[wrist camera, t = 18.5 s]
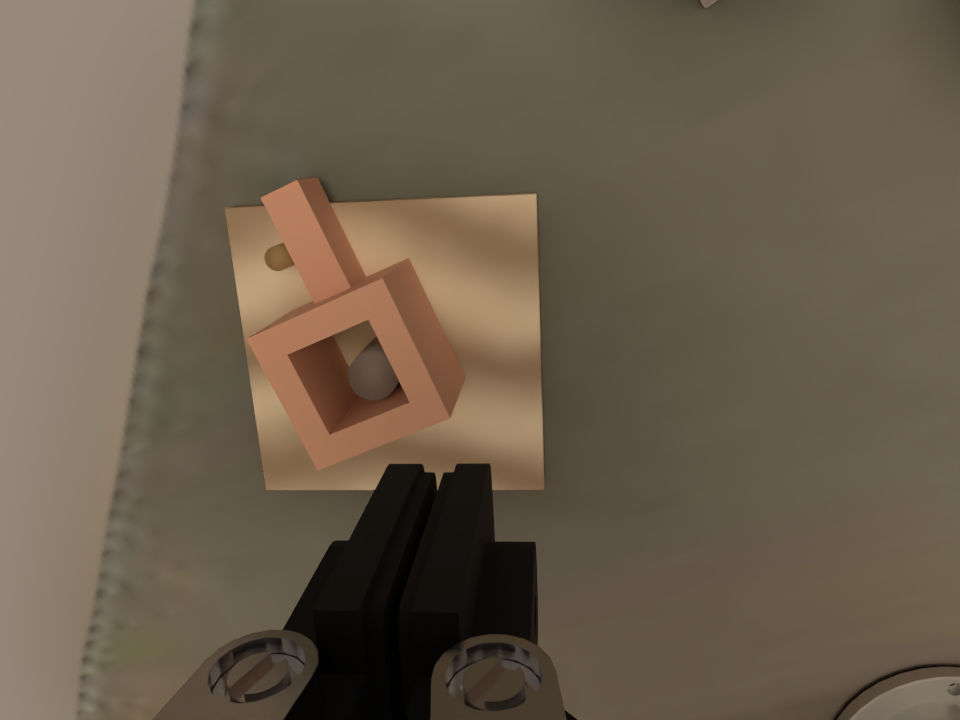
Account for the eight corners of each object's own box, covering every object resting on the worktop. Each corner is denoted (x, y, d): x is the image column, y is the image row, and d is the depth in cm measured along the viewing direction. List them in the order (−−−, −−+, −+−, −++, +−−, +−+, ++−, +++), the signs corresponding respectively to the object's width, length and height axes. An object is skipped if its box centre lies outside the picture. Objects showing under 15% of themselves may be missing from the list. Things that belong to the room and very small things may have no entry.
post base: (544, 480, 41) (543, 526, 36) (273, 480, 43) (237, 524, 38) (536, 192, 36) (534, 199, 31) (234, 206, 38) (187, 215, 33)
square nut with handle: (465, 377, 38) (450, 418, 33) (351, 424, 40) (317, 470, 34) (360, 155, 36) (324, 157, 30) (242, 214, 37) (185, 226, 31)
